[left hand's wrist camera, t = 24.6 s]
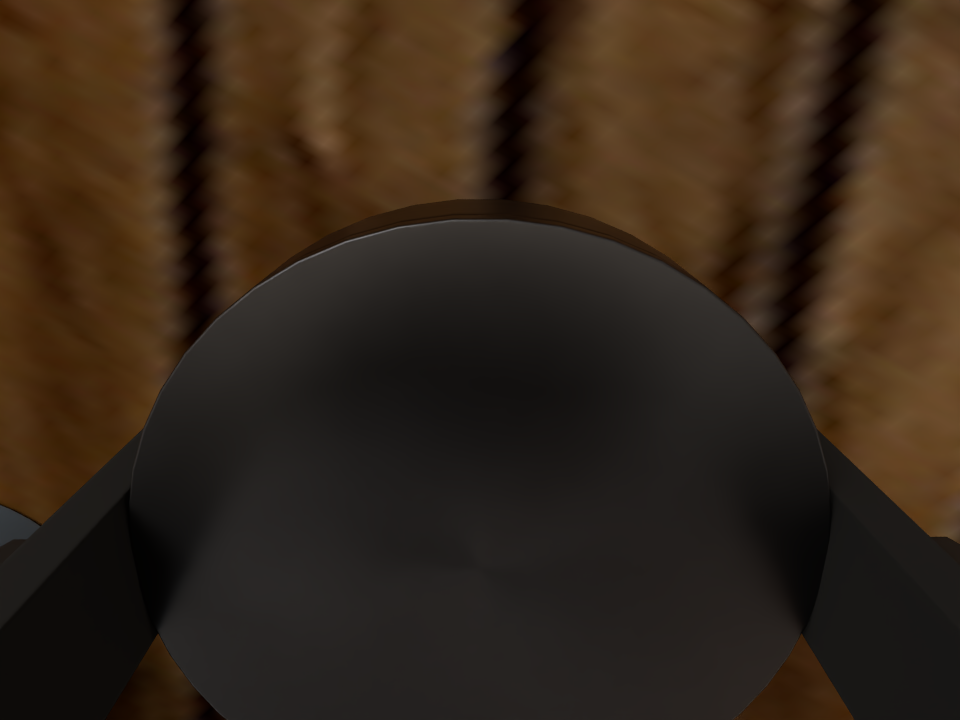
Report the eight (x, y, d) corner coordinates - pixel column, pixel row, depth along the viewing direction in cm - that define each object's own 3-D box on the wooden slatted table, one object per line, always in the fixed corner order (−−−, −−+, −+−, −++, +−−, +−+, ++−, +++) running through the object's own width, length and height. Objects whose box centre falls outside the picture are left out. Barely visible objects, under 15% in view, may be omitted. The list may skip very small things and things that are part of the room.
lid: (899, 473, 12) (977, 541, 10) (502, 791, 15) (505, 891, 13) (445, 41, 10) (437, 24, 8) (72, 520, 12) (-3, 595, 11)
